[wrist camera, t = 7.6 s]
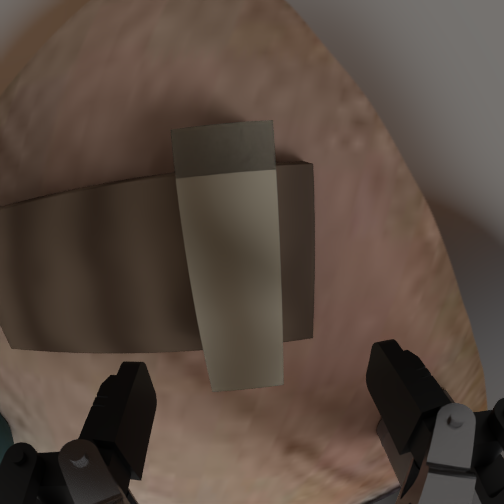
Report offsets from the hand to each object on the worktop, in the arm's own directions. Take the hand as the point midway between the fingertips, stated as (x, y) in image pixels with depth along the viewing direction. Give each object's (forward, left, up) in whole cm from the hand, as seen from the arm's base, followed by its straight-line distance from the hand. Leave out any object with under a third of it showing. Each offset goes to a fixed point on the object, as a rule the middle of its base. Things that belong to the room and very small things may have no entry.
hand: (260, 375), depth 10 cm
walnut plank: (+9, 0, -12) cm, 14 cm away
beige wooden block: (+1, -1, -11) cm, 11 cm away
